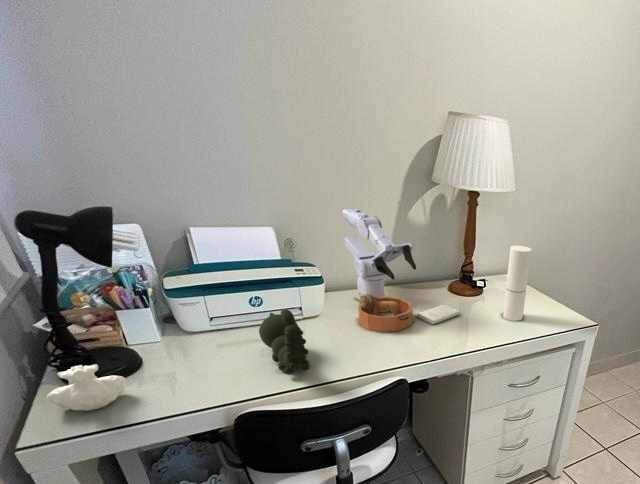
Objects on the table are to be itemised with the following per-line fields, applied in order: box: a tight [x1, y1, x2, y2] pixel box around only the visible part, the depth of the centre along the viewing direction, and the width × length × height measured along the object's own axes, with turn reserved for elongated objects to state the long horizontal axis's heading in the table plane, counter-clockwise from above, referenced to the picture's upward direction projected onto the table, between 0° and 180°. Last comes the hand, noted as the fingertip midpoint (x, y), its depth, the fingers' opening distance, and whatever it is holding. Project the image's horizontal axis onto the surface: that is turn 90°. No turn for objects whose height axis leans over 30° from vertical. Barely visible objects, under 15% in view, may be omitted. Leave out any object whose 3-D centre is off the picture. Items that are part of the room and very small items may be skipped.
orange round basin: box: [357, 296, 414, 333], centre depth 136 cm, size 20×17×5 cm
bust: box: [46, 363, 127, 411], centre depth 85 cm, size 12×8×11 cm
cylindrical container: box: [502, 245, 532, 322], centre depth 145 cm, size 7×7×25 cm
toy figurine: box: [258, 308, 311, 376], centre depth 105 cm, size 9×19×25 cm
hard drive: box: [416, 304, 460, 325], centre depth 144 cm, size 2×8×12 cm
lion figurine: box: [359, 294, 402, 316], centre depth 135 cm, size 15×5×9 cm, turn 107°
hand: (404, 272), depth 129 cm, fingers open, 7 cm apart
